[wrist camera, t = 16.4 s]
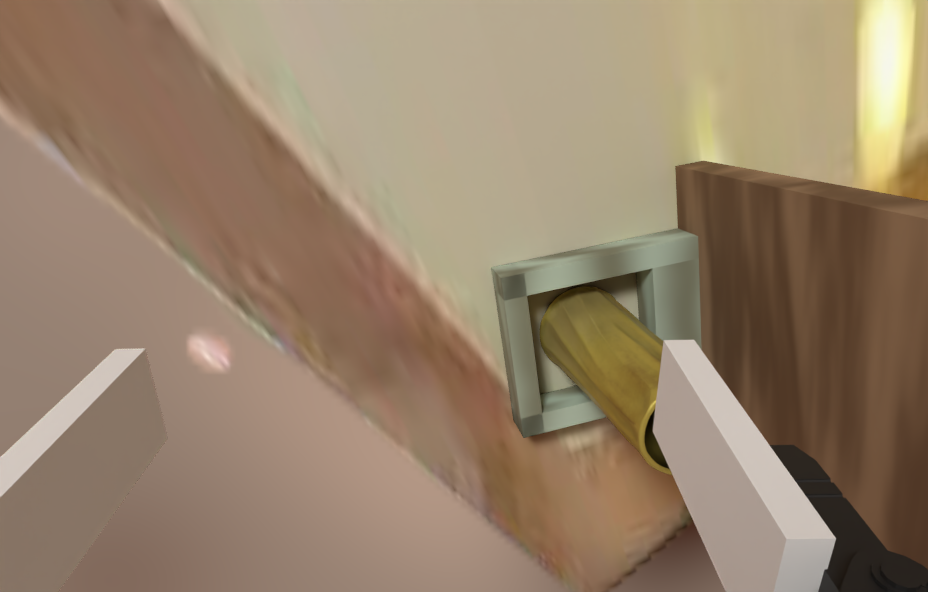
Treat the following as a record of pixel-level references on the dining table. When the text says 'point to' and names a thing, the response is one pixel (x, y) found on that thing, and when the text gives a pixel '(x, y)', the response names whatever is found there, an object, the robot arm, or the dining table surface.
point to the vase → (608, 362)
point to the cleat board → (775, 325)
